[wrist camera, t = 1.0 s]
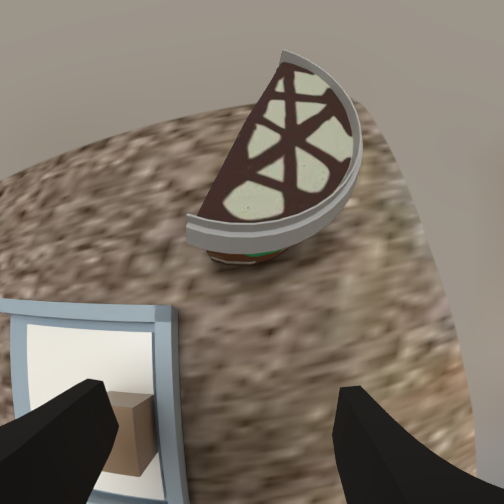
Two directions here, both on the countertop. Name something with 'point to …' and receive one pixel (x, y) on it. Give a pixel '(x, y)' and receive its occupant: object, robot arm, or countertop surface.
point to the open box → (166, 366)
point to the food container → (282, 169)
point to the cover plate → (98, 364)
